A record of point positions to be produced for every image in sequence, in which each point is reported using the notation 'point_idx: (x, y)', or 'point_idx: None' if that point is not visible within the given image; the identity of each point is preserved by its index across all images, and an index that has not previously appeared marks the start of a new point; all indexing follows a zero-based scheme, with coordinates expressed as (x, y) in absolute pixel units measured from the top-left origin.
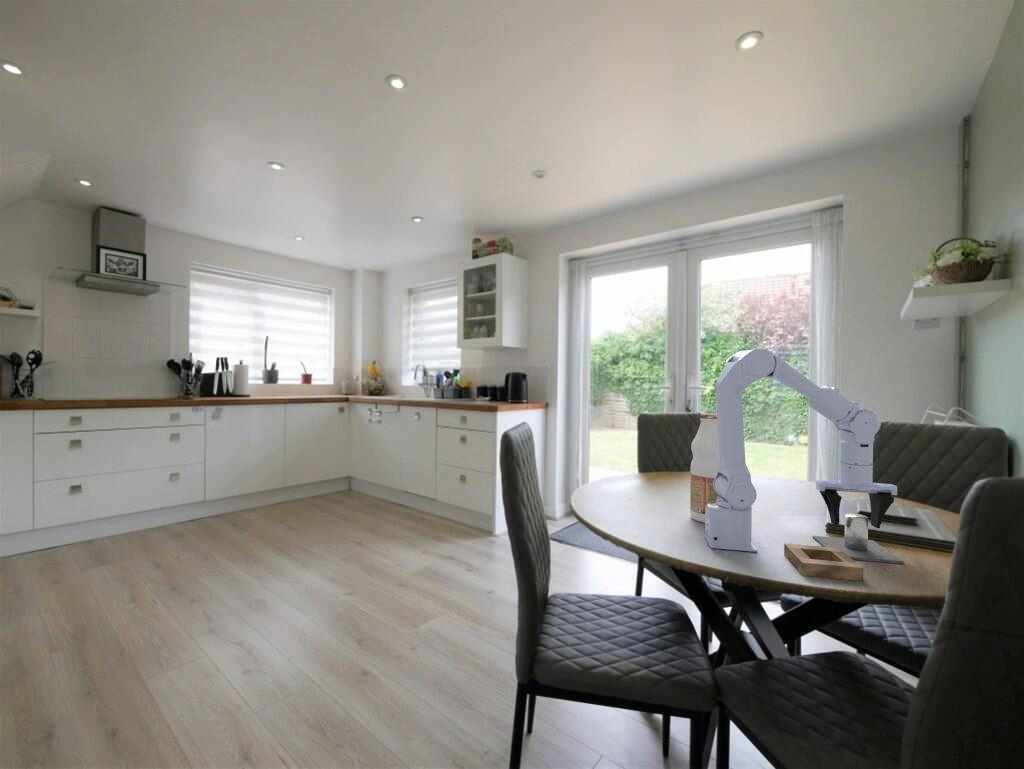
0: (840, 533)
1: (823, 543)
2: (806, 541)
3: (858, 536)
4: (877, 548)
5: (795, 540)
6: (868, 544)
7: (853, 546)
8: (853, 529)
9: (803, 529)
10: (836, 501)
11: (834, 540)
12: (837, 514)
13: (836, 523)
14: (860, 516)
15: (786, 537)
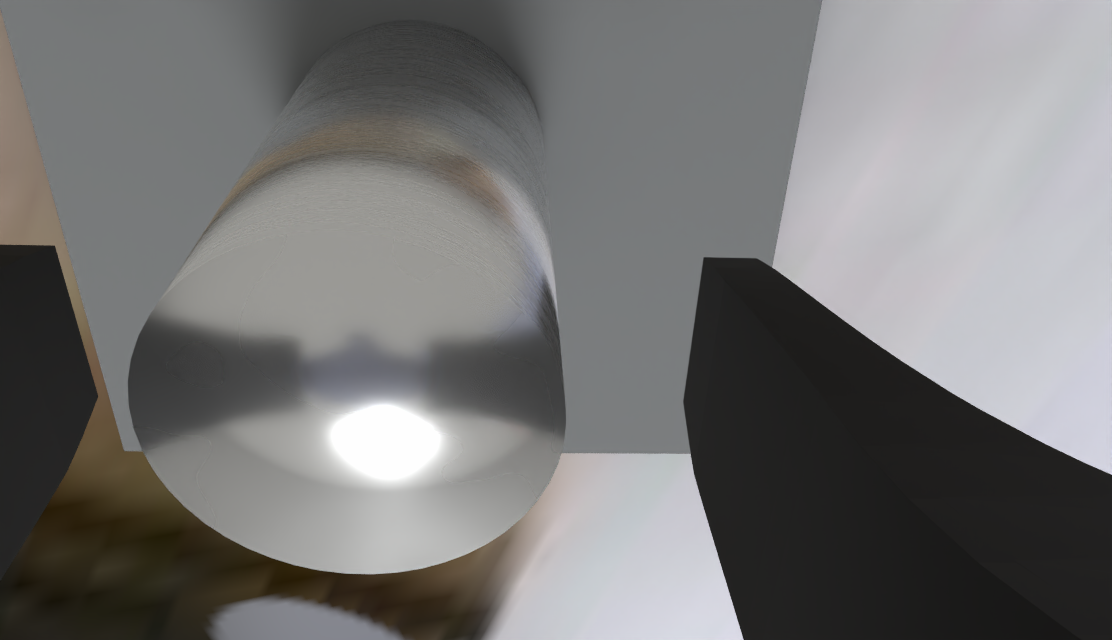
0: (368, 606)
1: (755, 233)
2: (868, 322)
3: (422, 90)
4: (147, 193)
5: (980, 327)
6: None
7: (492, 61)
8: (486, 161)
9: (686, 634)
10: (1107, 544)
11: (562, 360)
12: (820, 339)
13: (758, 261)
14: (270, 409)
15: (1020, 397)
